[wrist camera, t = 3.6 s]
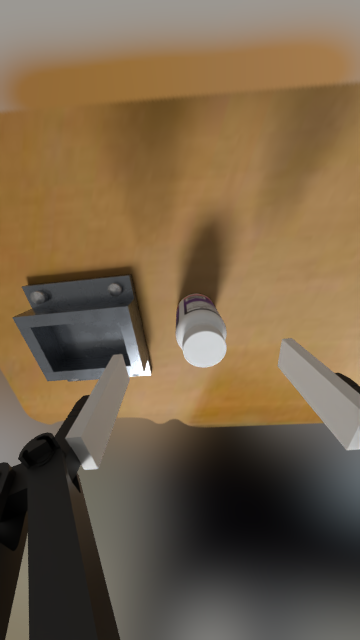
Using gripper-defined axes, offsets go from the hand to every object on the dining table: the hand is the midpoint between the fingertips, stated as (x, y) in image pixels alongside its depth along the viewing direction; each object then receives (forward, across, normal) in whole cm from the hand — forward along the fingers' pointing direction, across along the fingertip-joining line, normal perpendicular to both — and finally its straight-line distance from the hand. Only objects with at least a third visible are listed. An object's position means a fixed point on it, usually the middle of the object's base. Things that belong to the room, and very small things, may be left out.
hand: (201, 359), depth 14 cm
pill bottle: (+11, +1, 0) cm, 11 cm away
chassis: (+11, -14, -2) cm, 18 cm away
